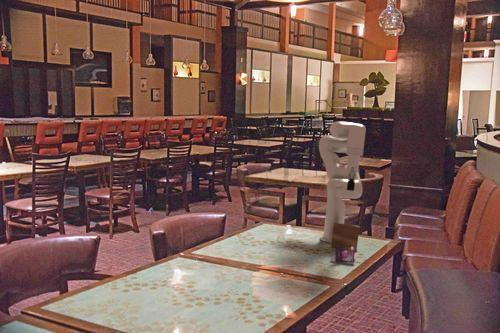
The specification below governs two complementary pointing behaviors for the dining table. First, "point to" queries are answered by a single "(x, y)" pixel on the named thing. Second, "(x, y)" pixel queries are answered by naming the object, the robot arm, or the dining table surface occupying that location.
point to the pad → (342, 260)
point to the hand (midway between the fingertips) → (350, 188)
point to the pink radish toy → (343, 253)
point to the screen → (345, 235)
